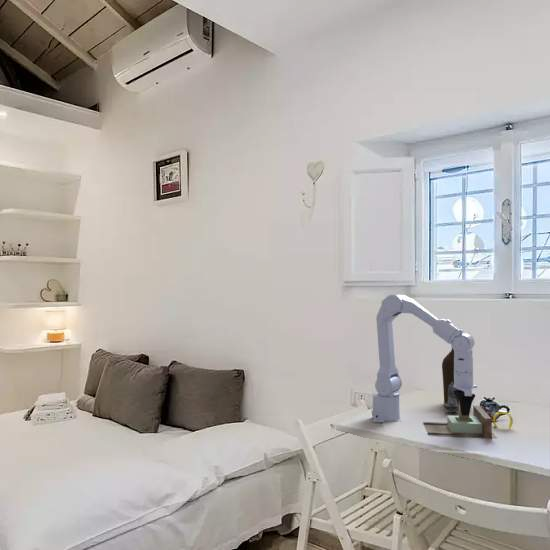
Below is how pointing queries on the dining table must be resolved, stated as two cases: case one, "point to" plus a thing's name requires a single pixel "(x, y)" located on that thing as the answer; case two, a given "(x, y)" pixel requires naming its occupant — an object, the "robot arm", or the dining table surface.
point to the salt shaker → (451, 401)
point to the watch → (502, 413)
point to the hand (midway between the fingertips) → (464, 413)
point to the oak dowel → (462, 415)
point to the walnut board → (446, 432)
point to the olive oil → (448, 373)
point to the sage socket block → (464, 425)
